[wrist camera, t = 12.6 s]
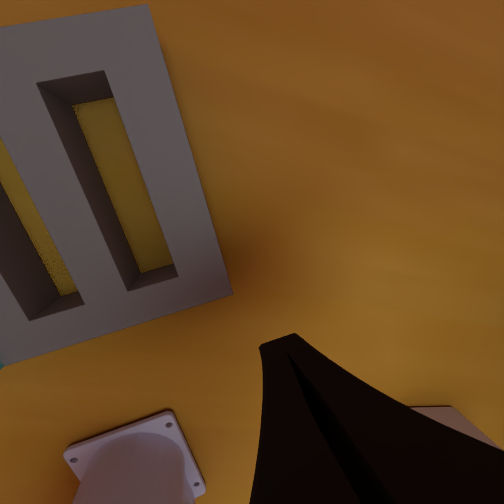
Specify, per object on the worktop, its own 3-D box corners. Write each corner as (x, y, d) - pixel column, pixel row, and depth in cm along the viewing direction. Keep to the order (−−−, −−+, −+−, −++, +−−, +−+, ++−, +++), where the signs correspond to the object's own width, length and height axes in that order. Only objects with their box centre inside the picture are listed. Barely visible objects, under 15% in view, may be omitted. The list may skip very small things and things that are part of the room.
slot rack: (227, 276, 17) (233, 296, 14) (-59, 363, 15) (-127, 410, 12) (159, 43, 13) (146, -2, 10) (-250, 115, 11) (-429, 87, 8)
